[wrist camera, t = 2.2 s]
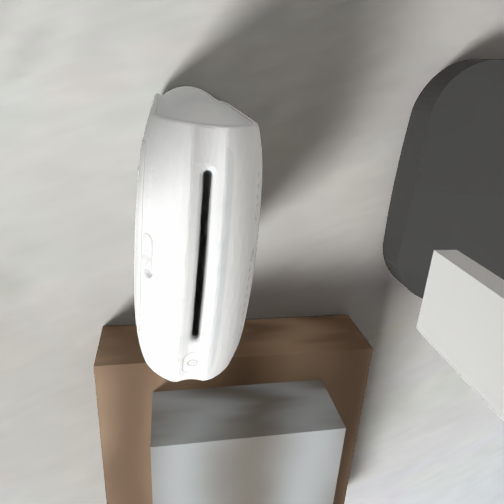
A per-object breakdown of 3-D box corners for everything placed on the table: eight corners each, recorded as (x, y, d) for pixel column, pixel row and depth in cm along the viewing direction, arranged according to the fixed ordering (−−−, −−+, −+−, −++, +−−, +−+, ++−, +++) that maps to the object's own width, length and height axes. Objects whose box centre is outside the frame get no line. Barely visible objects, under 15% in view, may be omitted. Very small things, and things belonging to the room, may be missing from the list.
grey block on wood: (119, 528, 34) (107, 653, 27) (103, 326, 27) (81, 420, 20) (318, 502, 37) (356, 608, 30) (347, 314, 30) (405, 393, 23)
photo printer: (215, 267, 27) (250, 409, 16) (143, 265, 26) (127, 413, 15) (231, 91, 23) (293, 112, 12) (148, 81, 23) (132, 94, 11)
